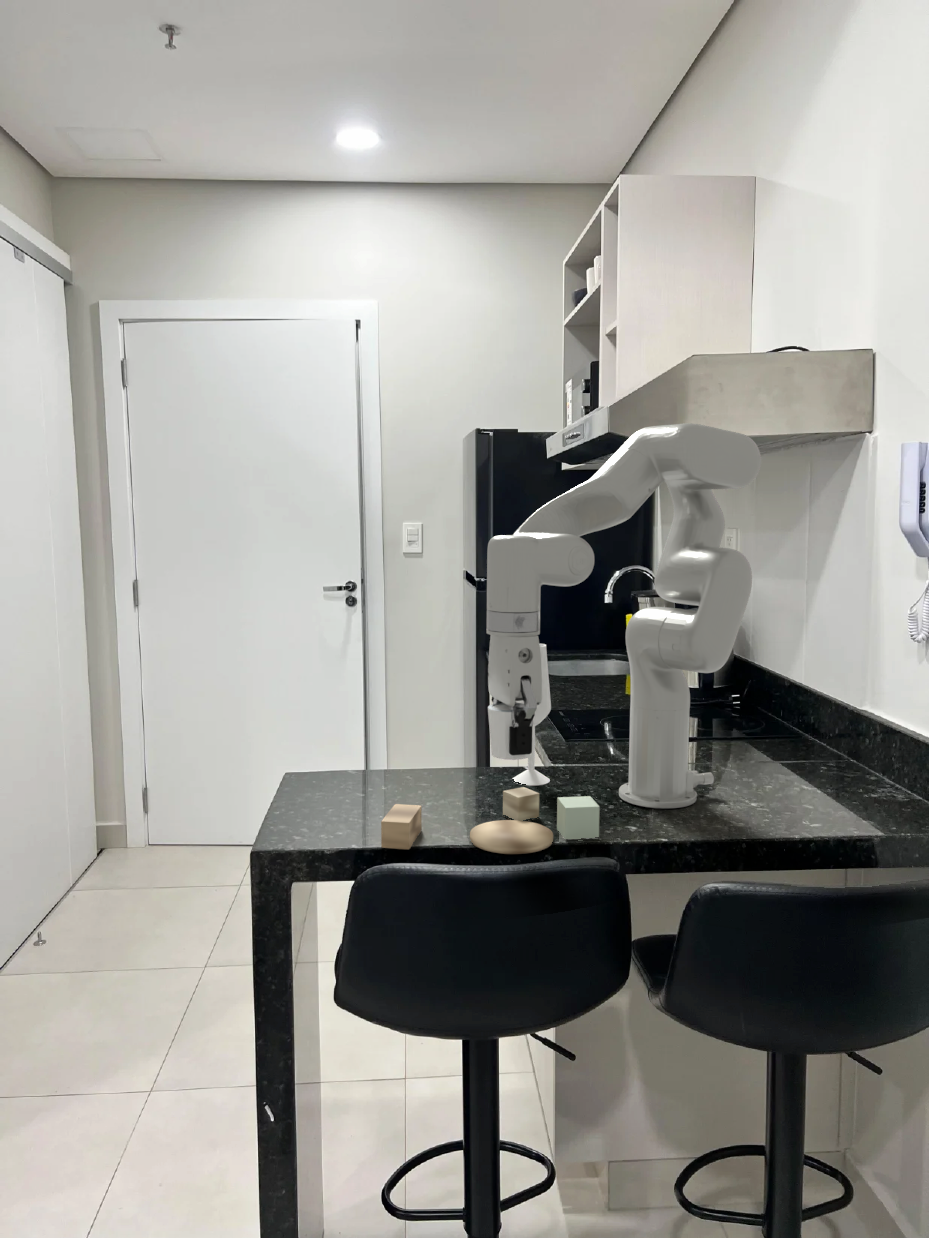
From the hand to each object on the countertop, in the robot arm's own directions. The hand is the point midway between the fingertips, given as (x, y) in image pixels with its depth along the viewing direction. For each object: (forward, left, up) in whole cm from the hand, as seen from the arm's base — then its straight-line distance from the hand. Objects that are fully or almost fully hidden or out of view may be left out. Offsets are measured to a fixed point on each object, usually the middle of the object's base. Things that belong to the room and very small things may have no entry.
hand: (511, 747), depth 134 cm
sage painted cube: (-10, +1, -14) cm, 17 cm away
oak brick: (+15, -5, -14) cm, 21 cm away
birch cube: (-5, -9, -14) cm, 17 cm away
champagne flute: (-14, -27, -14) cm, 34 cm away
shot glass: (0, 0, -1) cm, 1 cm away
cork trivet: (0, 0, -14) cm, 14 cm away
